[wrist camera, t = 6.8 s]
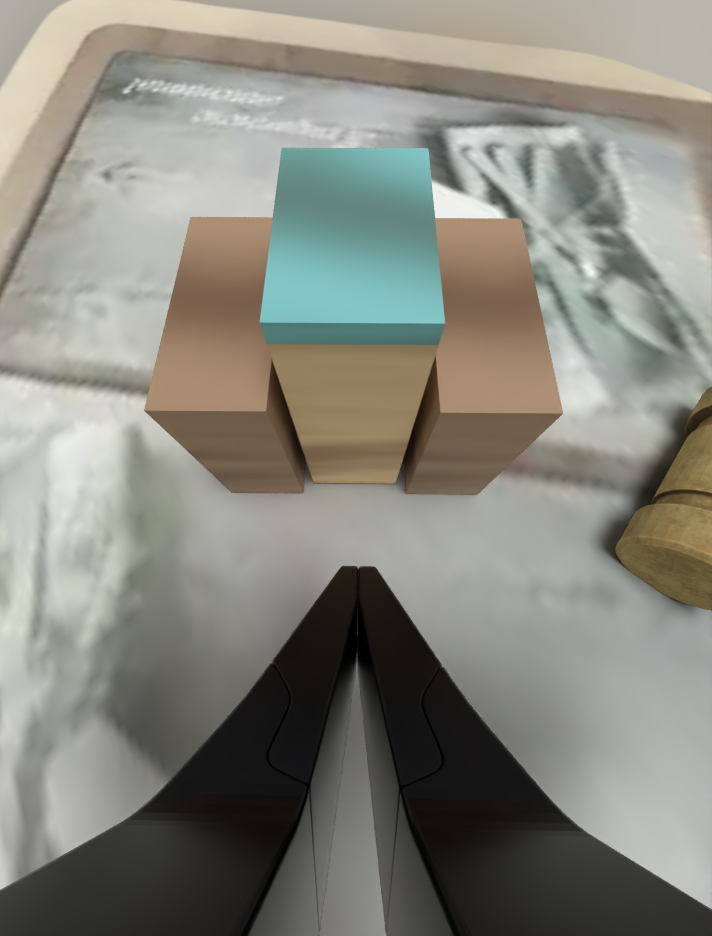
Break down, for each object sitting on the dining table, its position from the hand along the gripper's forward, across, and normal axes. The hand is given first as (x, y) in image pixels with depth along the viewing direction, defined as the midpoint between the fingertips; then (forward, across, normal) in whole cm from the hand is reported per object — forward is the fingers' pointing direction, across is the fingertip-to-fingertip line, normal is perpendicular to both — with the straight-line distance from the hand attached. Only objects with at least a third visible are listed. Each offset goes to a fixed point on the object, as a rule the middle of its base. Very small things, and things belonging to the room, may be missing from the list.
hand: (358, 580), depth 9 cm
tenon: (+11, 0, 0) cm, 11 cm away
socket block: (+12, 0, -1) cm, 12 cm away
